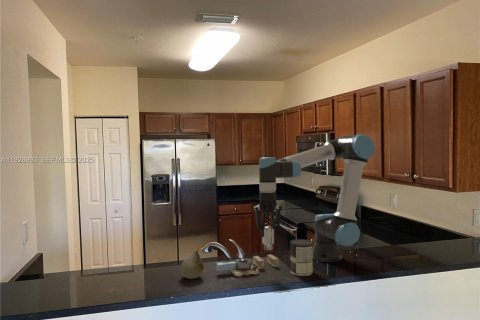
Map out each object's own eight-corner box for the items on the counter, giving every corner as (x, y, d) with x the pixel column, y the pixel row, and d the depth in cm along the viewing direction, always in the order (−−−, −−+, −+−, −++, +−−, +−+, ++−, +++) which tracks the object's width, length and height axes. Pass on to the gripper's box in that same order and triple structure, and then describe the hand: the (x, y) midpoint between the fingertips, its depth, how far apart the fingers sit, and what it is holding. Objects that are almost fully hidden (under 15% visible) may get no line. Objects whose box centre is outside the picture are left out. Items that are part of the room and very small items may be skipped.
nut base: (250, 266, 171) (250, 260, 171) (258, 273, 160) (258, 267, 160) (228, 269, 167) (228, 262, 167) (235, 276, 157) (235, 270, 157)
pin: (270, 247, 161) (269, 226, 161) (273, 249, 158) (273, 227, 158) (262, 248, 160) (262, 226, 160) (266, 250, 157) (265, 228, 156)
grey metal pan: (248, 264, 169) (248, 256, 169) (254, 269, 161) (254, 261, 161) (214, 267, 163) (214, 259, 163) (219, 273, 156) (219, 264, 156)
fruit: (207, 276, 157) (207, 249, 157) (194, 283, 149) (194, 255, 149) (189, 272, 162) (189, 246, 162) (176, 278, 154) (175, 251, 154)
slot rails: (271, 262, 177) (271, 254, 177) (278, 267, 170) (278, 258, 169) (253, 264, 174) (253, 256, 174) (259, 269, 166) (259, 261, 166)
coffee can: (286, 272, 162) (285, 242, 161) (297, 267, 170) (297, 238, 169) (306, 277, 155) (306, 246, 155) (316, 271, 163) (316, 241, 163)
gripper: (280, 189, 165) (280, 239, 165) (247, 191, 159) (248, 243, 160) (287, 191, 157) (288, 243, 158) (254, 193, 152) (254, 247, 153)
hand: (268, 243), depth 159 cm, fingers closed on pin, 3 cm apart
